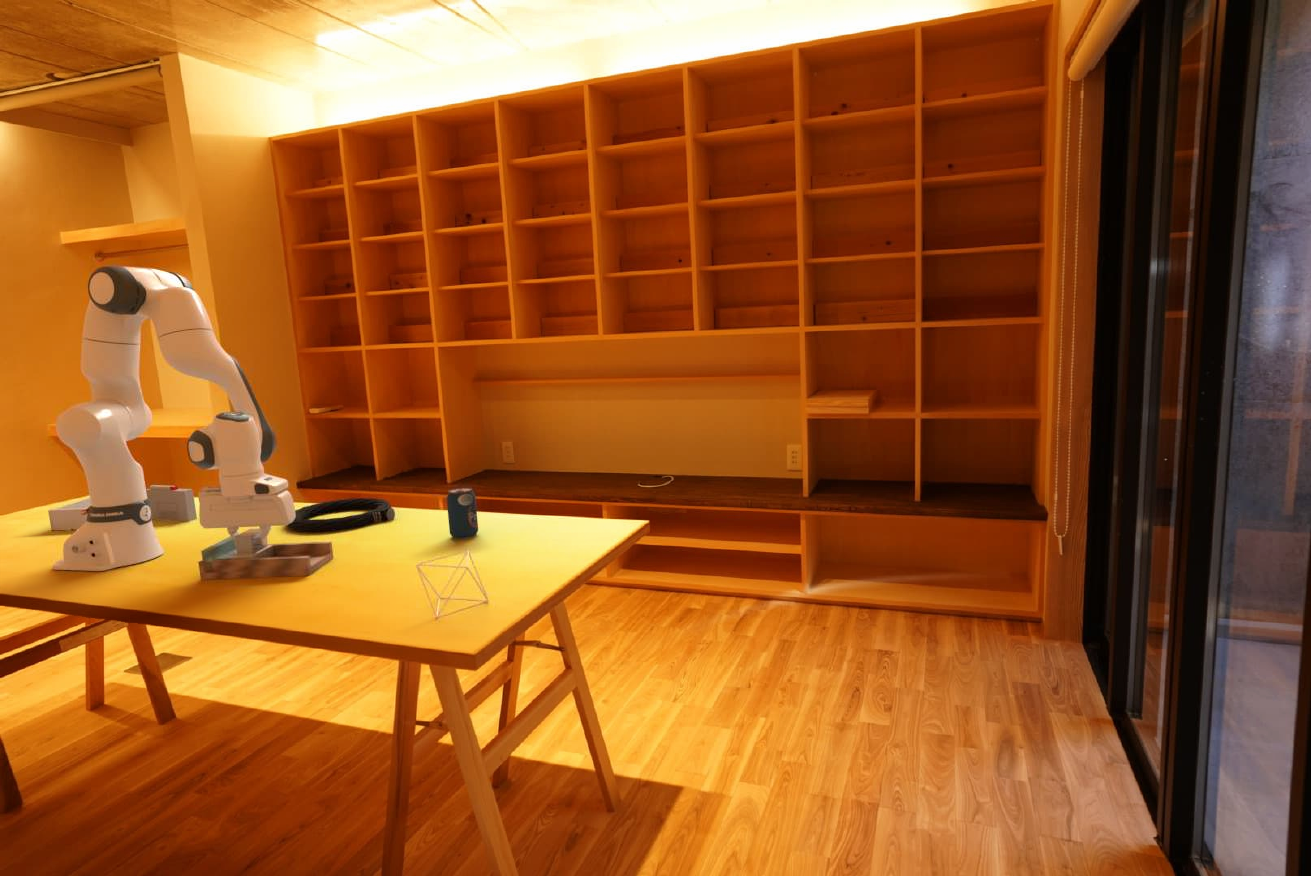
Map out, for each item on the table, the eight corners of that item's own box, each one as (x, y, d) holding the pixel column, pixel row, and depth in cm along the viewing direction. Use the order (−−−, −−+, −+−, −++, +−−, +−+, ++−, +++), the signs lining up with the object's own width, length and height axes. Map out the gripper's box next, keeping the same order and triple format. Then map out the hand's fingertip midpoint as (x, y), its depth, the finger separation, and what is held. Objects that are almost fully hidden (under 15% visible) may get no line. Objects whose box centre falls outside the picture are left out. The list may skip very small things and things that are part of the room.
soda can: (478, 538, 188) (474, 491, 186) (449, 541, 186) (445, 493, 184) (478, 531, 195) (474, 485, 193) (450, 534, 193) (446, 488, 191)
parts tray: (51, 531, 216) (48, 510, 215) (110, 510, 239) (107, 491, 238) (96, 529, 216) (92, 508, 215) (151, 508, 239) (148, 490, 238)
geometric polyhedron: (413, 606, 145) (408, 560, 143) (464, 590, 152) (460, 546, 150) (444, 623, 136) (439, 575, 134) (497, 605, 143) (493, 559, 141)
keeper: (217, 569, 167) (213, 539, 166) (240, 556, 176) (236, 527, 175) (253, 568, 167) (249, 537, 166) (274, 555, 176) (270, 526, 175)
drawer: (200, 579, 166) (196, 550, 165) (232, 562, 178) (228, 535, 177) (309, 575, 166) (305, 546, 165) (333, 558, 177) (330, 531, 176)
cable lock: (325, 496, 229) (416, 496, 223) (327, 508, 230) (418, 508, 224) (261, 520, 203) (362, 521, 196) (263, 534, 203) (364, 535, 197)
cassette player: (197, 519, 223) (192, 485, 221) (188, 521, 220) (183, 487, 219) (157, 517, 228) (152, 484, 226) (149, 519, 225) (144, 486, 224)
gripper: (188, 490, 166) (197, 551, 168) (280, 486, 165) (288, 547, 168) (206, 484, 172) (214, 542, 174) (294, 480, 172) (302, 539, 174)
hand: (251, 545), depth 171 cm, fingers open, 4 cm apart
